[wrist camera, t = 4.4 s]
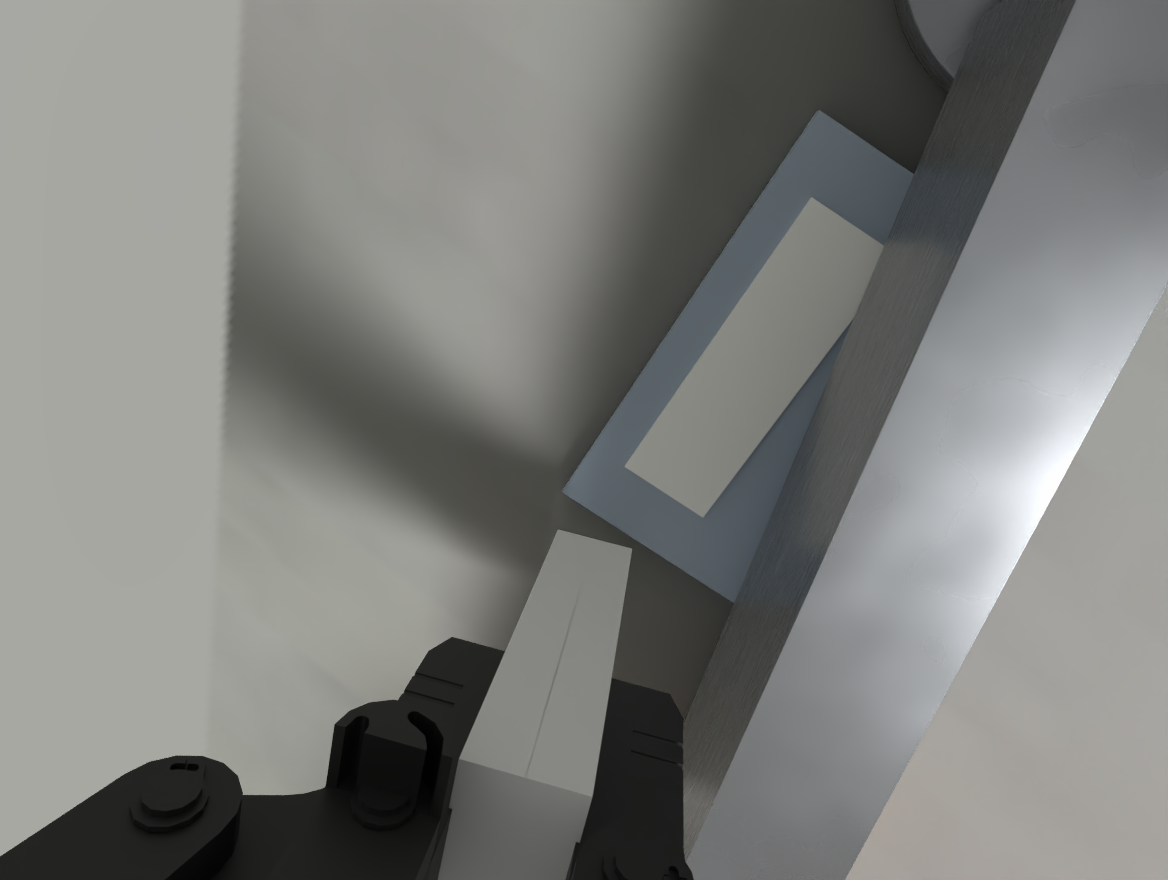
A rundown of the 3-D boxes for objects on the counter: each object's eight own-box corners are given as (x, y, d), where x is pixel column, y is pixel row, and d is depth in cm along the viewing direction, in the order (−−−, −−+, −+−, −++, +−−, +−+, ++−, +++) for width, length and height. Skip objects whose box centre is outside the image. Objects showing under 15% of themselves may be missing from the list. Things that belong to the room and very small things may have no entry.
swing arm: (1049, -283, 11) (1279, -609, 7) (1312, -207, 11) (1713, -493, 7) (613, 803, 17) (592, 985, 13) (777, 862, 17) (809, 1064, 13)
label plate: (814, 113, 14) (820, 108, 13) (1074, 289, 14) (1088, 291, 13) (564, 486, 16) (560, 493, 16) (786, 629, 16) (789, 641, 16)
